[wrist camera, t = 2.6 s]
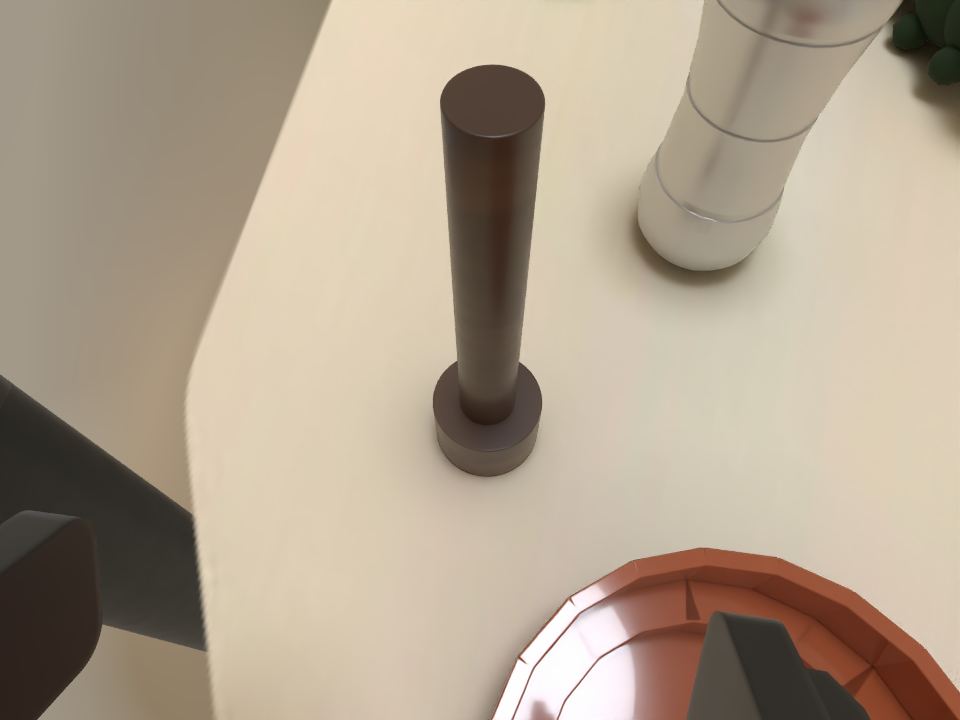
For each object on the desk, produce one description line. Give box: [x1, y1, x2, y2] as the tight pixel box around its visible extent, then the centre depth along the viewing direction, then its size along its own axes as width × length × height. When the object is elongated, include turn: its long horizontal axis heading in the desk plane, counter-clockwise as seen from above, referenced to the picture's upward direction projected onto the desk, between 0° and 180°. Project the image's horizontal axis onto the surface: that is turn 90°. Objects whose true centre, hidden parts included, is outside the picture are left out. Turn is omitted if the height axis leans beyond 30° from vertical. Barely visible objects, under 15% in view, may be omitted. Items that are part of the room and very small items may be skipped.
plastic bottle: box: [637, 0, 903, 271], centre depth 26 cm, size 6×7×20 cm
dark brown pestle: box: [433, 65, 545, 476], centre depth 22 cm, size 4×4×18 cm
